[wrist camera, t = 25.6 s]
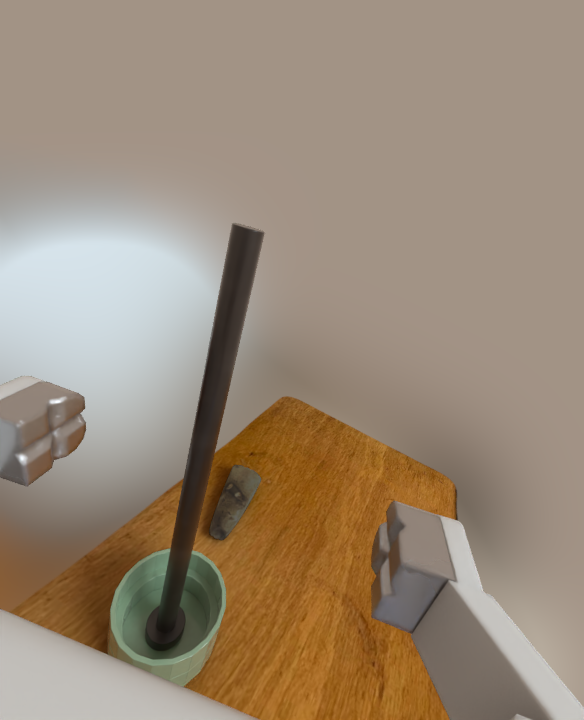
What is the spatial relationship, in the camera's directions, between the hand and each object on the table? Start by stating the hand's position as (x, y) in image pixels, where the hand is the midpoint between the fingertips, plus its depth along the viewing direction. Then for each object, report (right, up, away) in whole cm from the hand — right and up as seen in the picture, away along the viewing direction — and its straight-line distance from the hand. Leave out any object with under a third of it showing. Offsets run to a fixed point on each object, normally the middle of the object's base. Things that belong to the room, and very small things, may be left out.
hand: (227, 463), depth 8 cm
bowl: (-11, -24, +25) cm, 36 cm away
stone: (-8, -19, +41) cm, 45 cm away
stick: (-11, -24, +24) cm, 36 cm away
